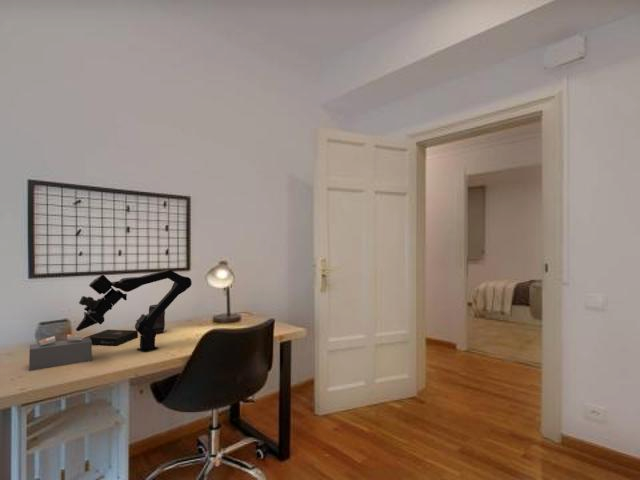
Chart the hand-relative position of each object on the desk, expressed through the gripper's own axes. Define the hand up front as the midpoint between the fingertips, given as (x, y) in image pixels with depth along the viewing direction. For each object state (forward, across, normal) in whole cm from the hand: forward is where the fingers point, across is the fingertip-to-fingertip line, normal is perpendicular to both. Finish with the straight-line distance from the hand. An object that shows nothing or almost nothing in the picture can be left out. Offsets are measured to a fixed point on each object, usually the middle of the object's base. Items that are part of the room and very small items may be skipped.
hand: (76, 330), depth 149 cm
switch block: (+12, 0, +5) cm, 13 cm away
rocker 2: (+2, 0, +2) cm, 3 cm away
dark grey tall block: (-18, -31, +36) cm, 51 cm away
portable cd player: (-3, -26, +21) cm, 34 cm away
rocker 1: (+9, 0, -5) cm, 10 cm away
